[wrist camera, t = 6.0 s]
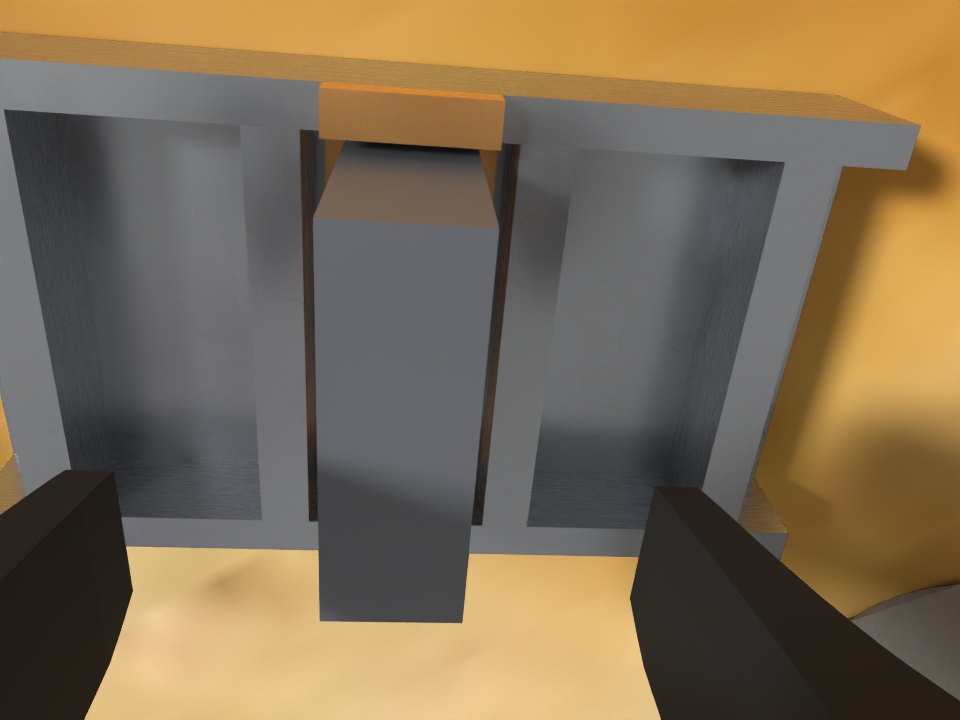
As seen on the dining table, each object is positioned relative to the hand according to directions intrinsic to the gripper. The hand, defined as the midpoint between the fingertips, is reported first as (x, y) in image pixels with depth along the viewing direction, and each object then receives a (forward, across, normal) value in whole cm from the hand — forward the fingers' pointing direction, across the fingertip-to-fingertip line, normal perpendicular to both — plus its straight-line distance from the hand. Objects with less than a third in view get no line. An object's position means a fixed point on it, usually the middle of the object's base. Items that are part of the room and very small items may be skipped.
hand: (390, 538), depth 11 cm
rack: (+9, 0, 0) cm, 9 cm away
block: (+7, 0, 0) cm, 7 cm away
